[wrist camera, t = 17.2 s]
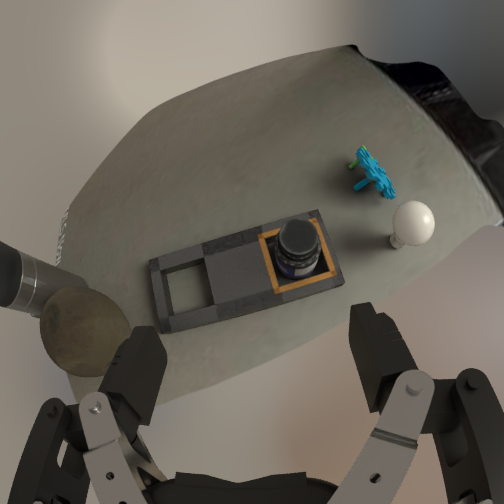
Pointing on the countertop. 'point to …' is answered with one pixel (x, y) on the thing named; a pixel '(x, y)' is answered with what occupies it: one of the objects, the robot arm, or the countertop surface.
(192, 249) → the grey rectangular tray
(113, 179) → the countertop surface
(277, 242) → the pill bottle
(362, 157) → the blue branched piece
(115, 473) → the robot arm
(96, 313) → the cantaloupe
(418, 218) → the lightbulb
